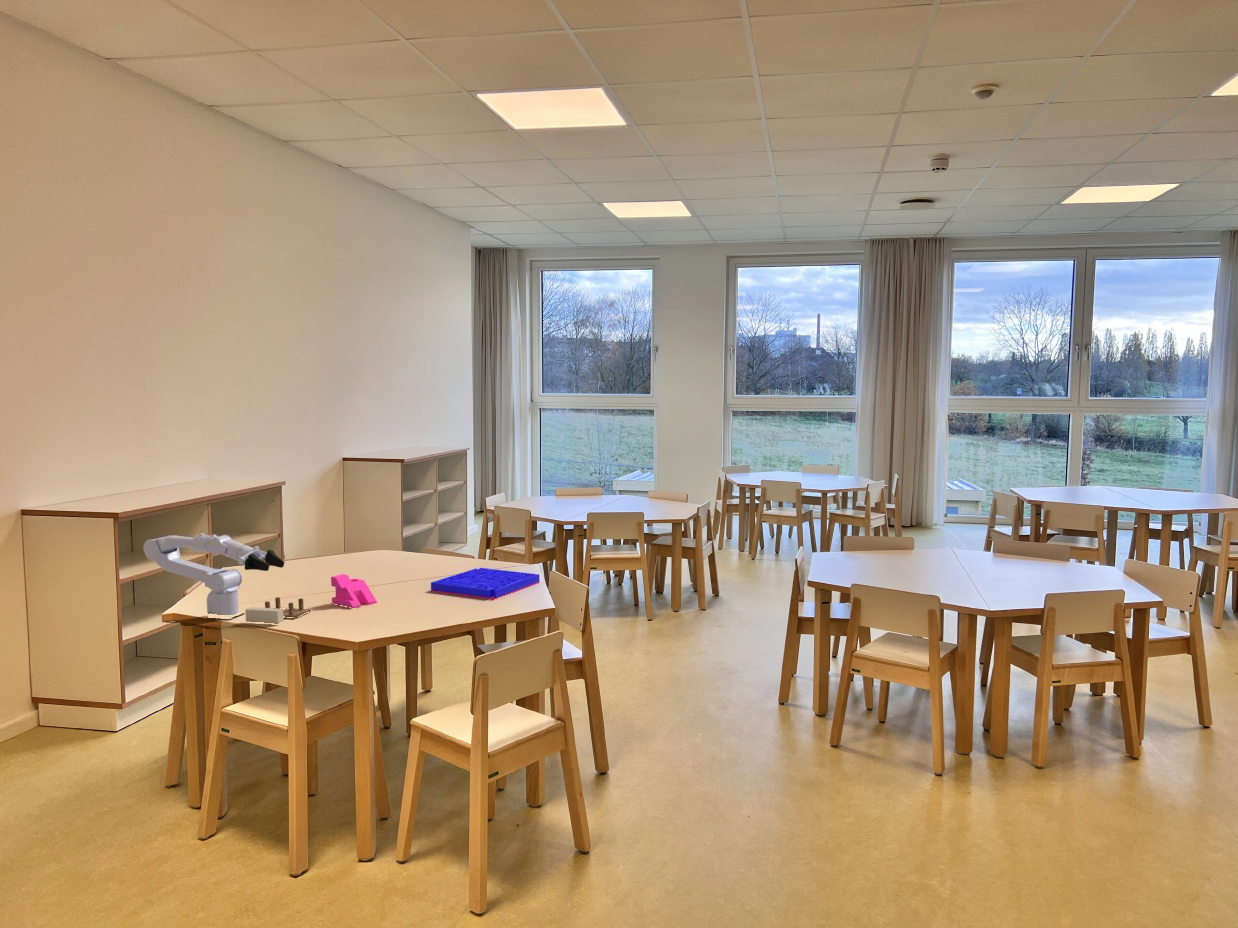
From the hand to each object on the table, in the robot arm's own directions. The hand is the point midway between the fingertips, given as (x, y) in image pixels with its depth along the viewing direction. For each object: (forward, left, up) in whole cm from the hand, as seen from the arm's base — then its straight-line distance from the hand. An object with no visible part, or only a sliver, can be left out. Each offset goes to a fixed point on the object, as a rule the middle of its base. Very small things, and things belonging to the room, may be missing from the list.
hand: (275, 566), depth 277 cm
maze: (+52, +58, -19) cm, 80 cm away
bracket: (+14, +25, -19) cm, 34 cm away
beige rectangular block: (-2, -4, -19) cm, 19 cm away
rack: (-2, +7, -19) cm, 20 cm away
